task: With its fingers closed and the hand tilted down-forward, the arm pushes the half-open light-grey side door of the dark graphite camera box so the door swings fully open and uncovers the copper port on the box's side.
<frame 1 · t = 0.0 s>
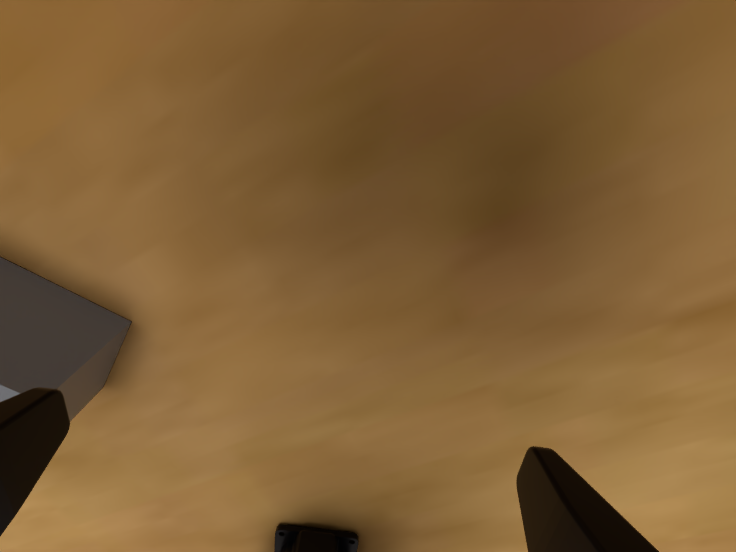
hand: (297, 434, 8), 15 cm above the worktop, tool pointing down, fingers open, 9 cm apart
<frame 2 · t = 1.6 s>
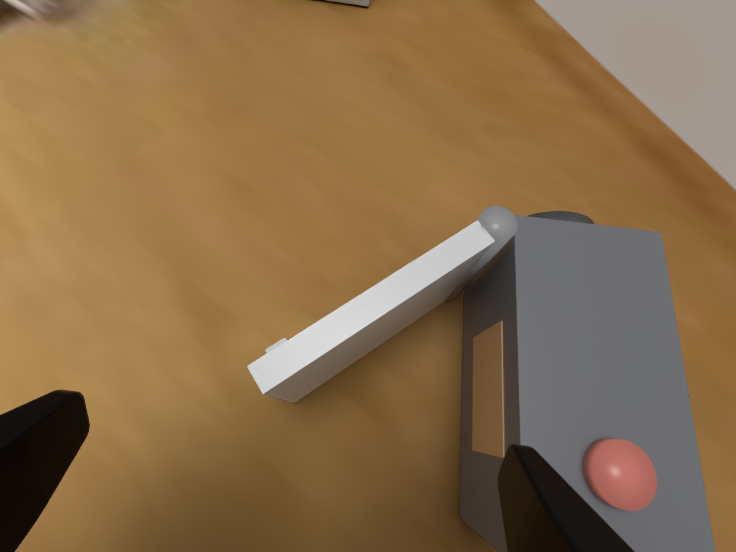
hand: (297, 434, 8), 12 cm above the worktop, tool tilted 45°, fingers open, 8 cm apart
camera box: (445, 289, 22), on the worktop
side door: (382, 314, 17), point 4 cm above the worktop, hinge at 50.0°
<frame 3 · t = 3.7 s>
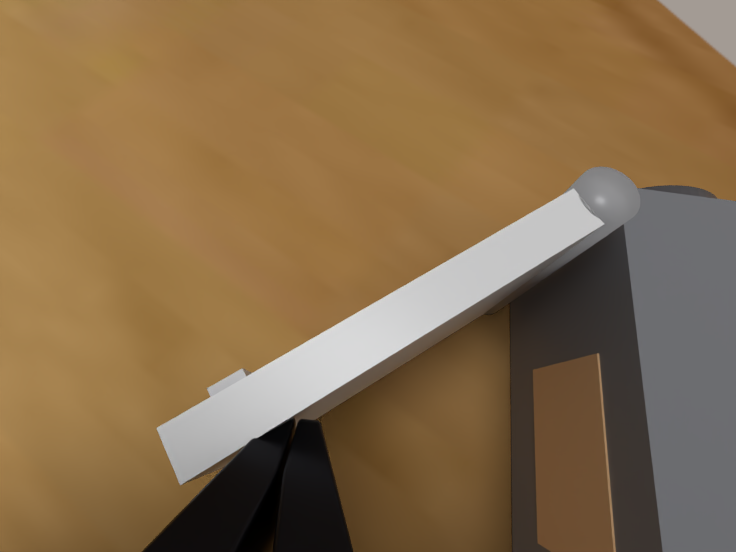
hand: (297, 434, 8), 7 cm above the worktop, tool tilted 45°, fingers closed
camera box: (485, 297, 16), on the worktop
side door: (402, 332, 11), point 4 cm above the worktop, hinge at 52.2°, touching gripper
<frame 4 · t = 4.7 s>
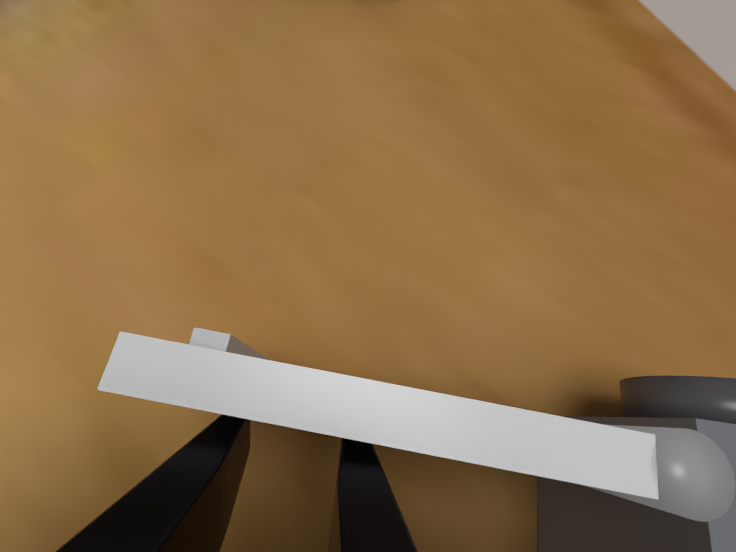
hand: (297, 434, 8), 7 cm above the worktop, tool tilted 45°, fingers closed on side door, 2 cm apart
camera box: (510, 440, 14), on the worktop
side door: (393, 411, 11), point 4 cm above the worktop, hinge at 92.4°, touching gripper
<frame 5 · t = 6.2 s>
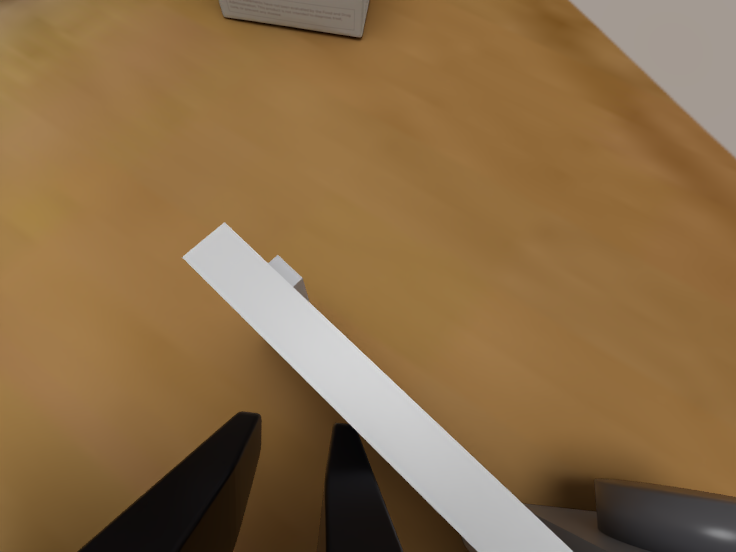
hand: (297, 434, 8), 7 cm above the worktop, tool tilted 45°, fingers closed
camera box: (482, 532, 13), on the worktop
side door: (395, 431, 10), point 4 cm above the worktop, hinge at 126.5°, touching gripper
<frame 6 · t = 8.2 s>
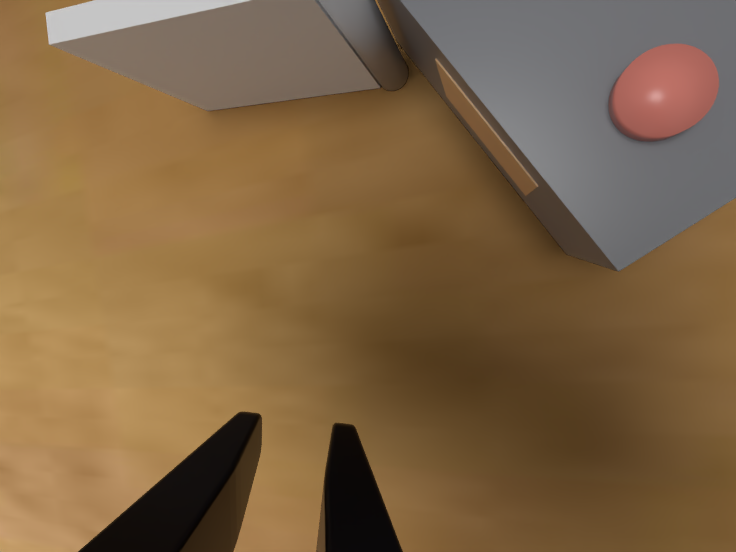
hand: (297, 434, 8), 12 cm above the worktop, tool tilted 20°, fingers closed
camera box: (393, 74, 18), on the worktop
side door: (254, 49, 16), point 4 cm above the worktop, hinge at 126.5°
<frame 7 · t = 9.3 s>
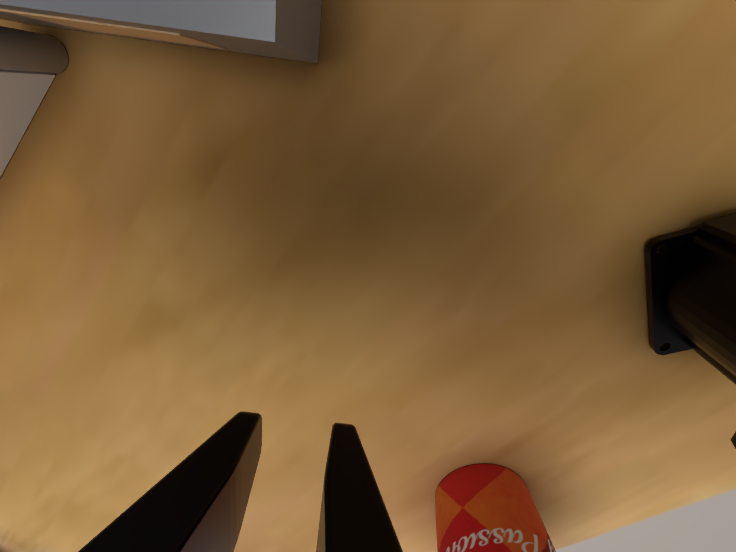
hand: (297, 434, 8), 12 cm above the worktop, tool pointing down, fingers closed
coffee cup: (478, 492, 26), on the worktop
camera box: (50, 54, 16), on the worktop
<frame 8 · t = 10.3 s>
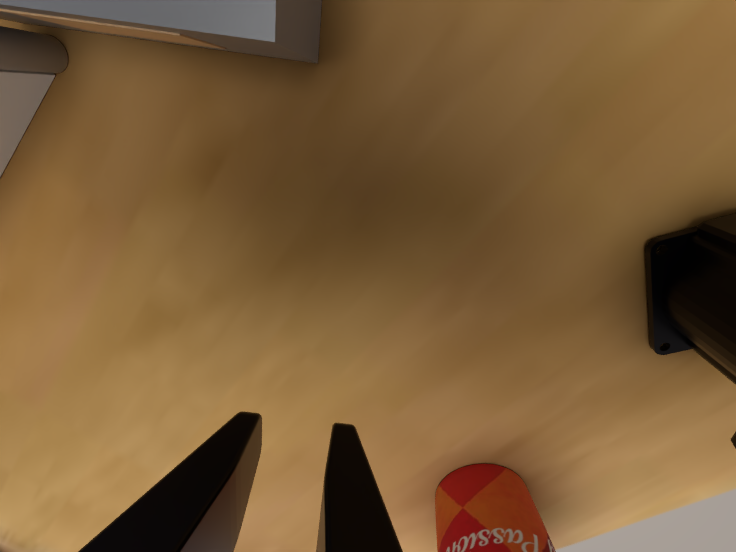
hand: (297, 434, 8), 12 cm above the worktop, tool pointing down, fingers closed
coffee cup: (478, 492, 26), on the worktop
camera box: (50, 54, 16), on the worktop
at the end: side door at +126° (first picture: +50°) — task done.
